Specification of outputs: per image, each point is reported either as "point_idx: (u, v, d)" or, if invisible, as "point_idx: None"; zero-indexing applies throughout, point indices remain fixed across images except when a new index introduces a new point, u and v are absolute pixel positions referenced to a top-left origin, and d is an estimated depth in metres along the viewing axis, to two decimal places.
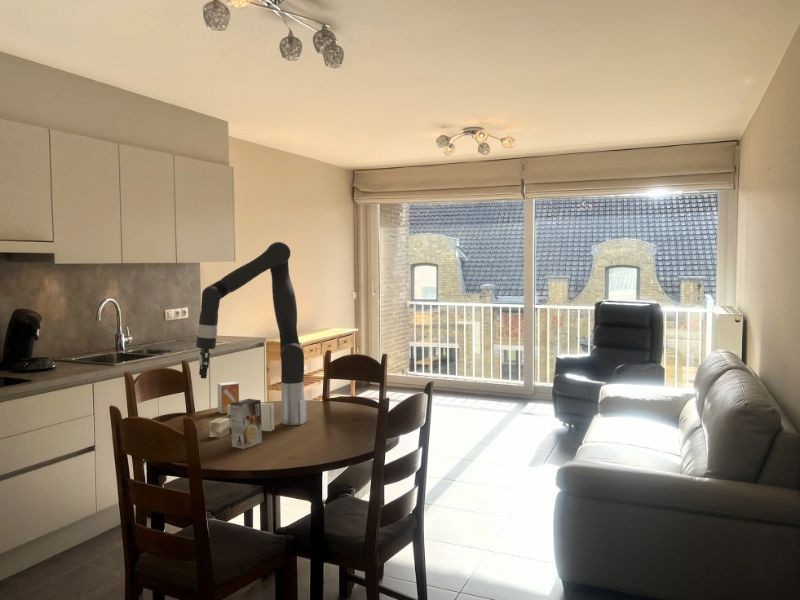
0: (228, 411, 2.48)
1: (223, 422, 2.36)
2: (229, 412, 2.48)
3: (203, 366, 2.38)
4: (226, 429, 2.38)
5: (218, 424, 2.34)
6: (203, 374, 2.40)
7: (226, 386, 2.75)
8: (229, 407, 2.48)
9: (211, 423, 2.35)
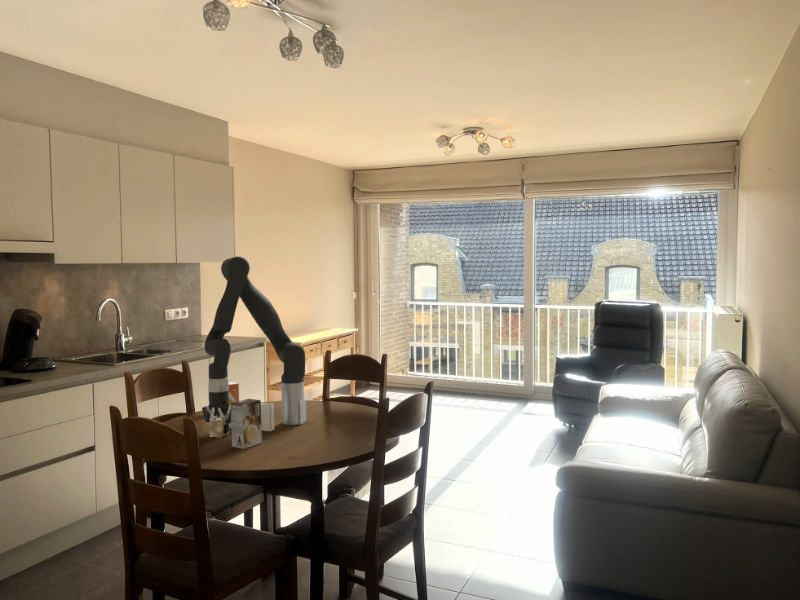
0: (228, 411, 2.48)
1: None
2: (229, 412, 2.48)
3: (230, 421, 2.36)
4: None
5: (218, 424, 2.34)
6: (227, 429, 2.37)
7: None
8: None
9: (211, 422, 2.35)
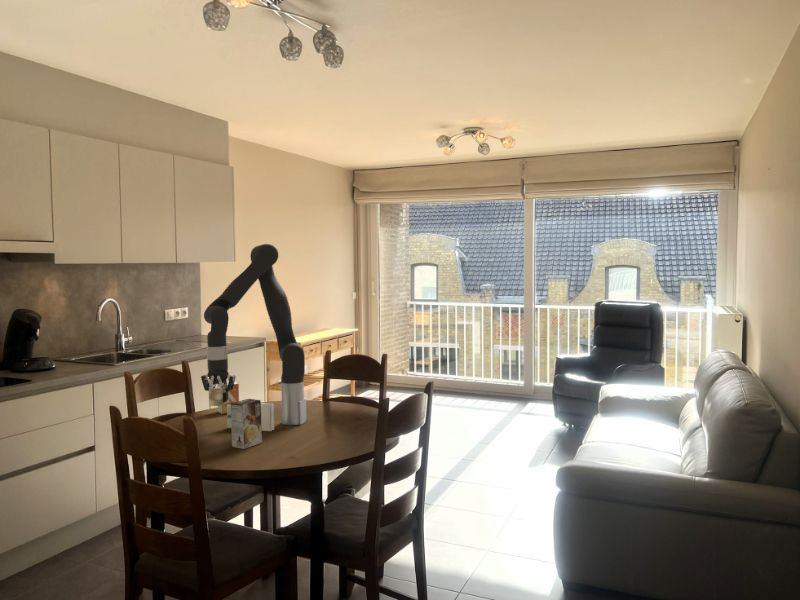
0: (228, 411, 2.48)
1: None
2: (229, 412, 2.48)
3: (230, 389, 2.36)
4: None
5: (217, 392, 2.34)
6: (226, 397, 2.37)
7: None
8: (229, 407, 2.48)
9: (210, 390, 2.35)
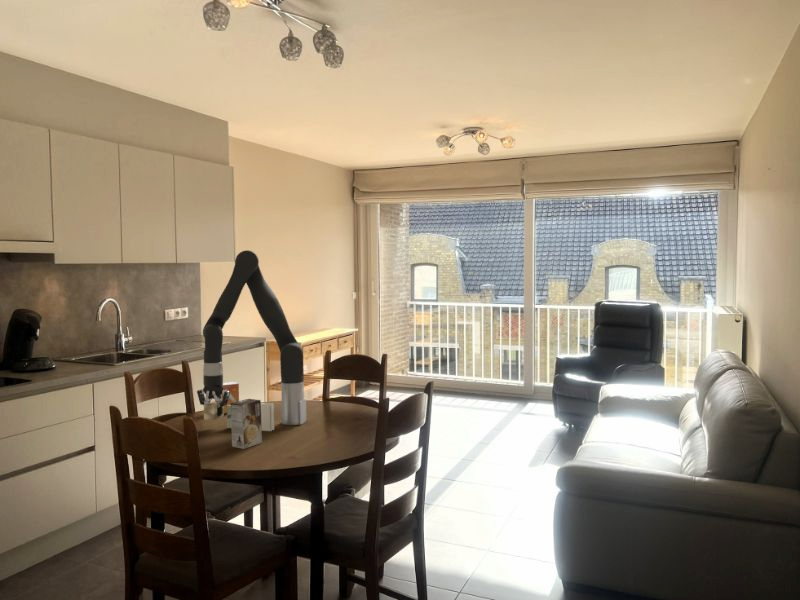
0: (228, 411, 2.48)
1: None
2: (229, 412, 2.48)
3: (224, 404, 2.45)
4: None
5: (212, 406, 2.43)
6: (221, 412, 2.46)
7: (226, 386, 2.75)
8: (229, 407, 2.48)
9: (205, 405, 2.44)
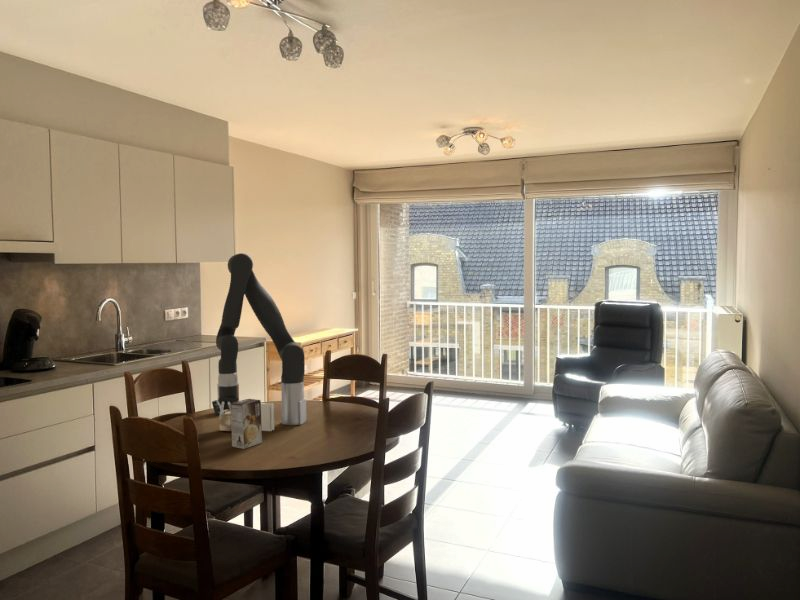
0: None
1: None
2: None
3: None
4: None
5: (228, 417, 2.42)
6: None
7: None
8: None
9: (221, 416, 2.43)
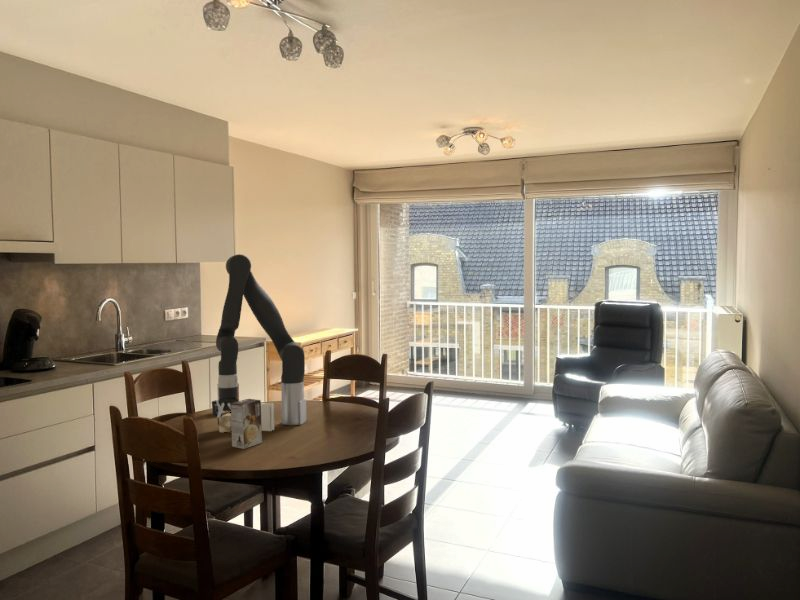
0: None
1: None
2: None
3: None
4: None
5: (228, 419, 2.42)
6: None
7: None
8: None
9: (221, 418, 2.43)
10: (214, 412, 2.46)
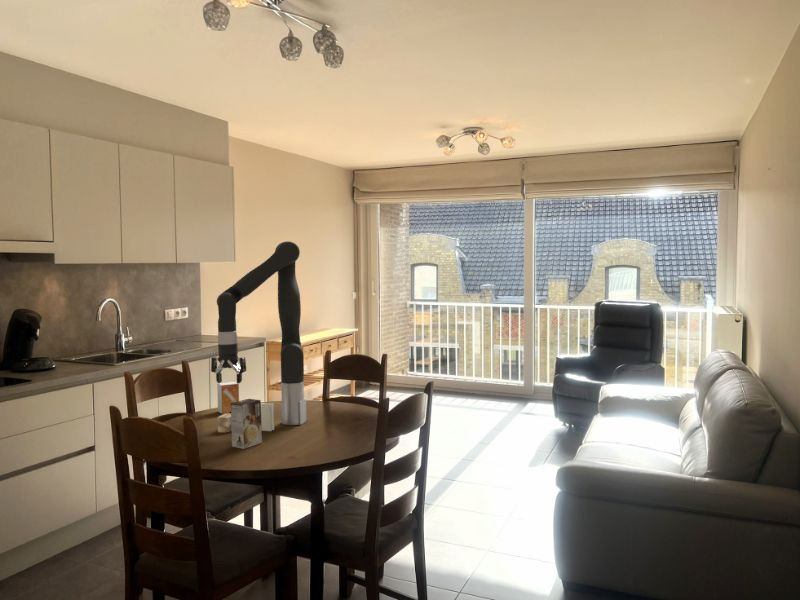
0: None
1: None
2: None
3: (244, 370, 2.44)
4: None
5: (226, 419, 2.42)
6: (240, 379, 2.45)
7: (226, 386, 2.75)
8: None
9: (219, 418, 2.43)
10: (212, 368, 2.47)
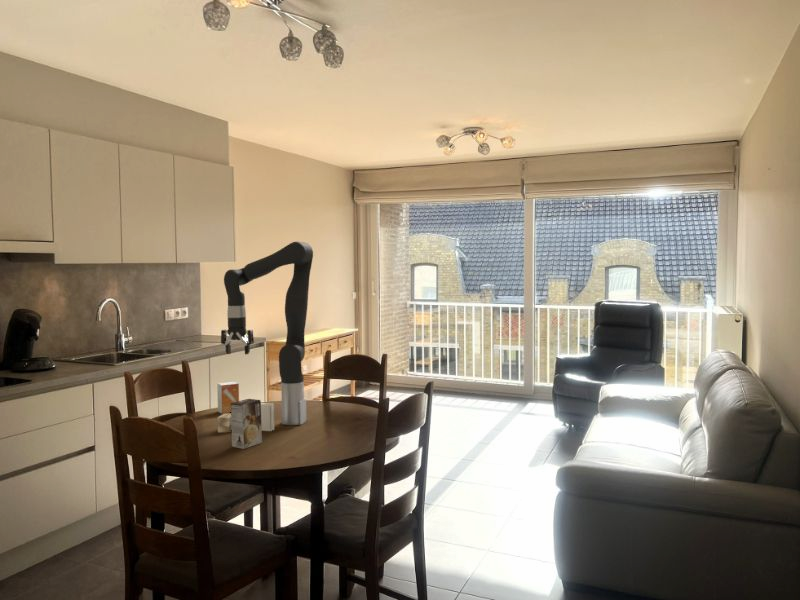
0: None
1: None
2: None
3: (251, 342, 2.61)
4: None
5: (227, 419, 2.42)
6: (248, 350, 2.62)
7: (226, 386, 2.75)
8: None
9: (219, 418, 2.43)
10: (222, 340, 2.64)
